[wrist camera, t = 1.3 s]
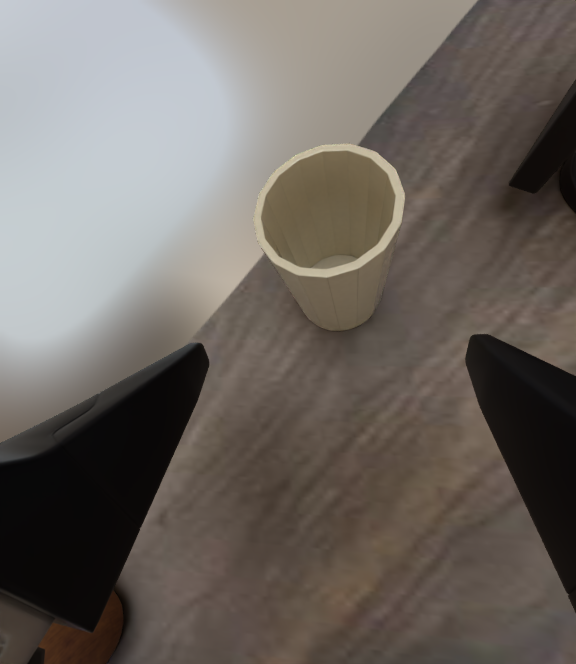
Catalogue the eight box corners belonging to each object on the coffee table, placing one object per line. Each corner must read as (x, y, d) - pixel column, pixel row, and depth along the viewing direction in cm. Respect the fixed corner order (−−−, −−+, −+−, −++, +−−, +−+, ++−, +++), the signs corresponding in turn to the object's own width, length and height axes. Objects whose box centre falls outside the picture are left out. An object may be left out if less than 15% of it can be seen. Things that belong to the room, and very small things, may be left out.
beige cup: (375, 336, 21) (394, 283, 11) (292, 325, 23) (241, 270, 13) (385, 256, 23) (412, 139, 12) (305, 252, 24) (269, 147, 14)
